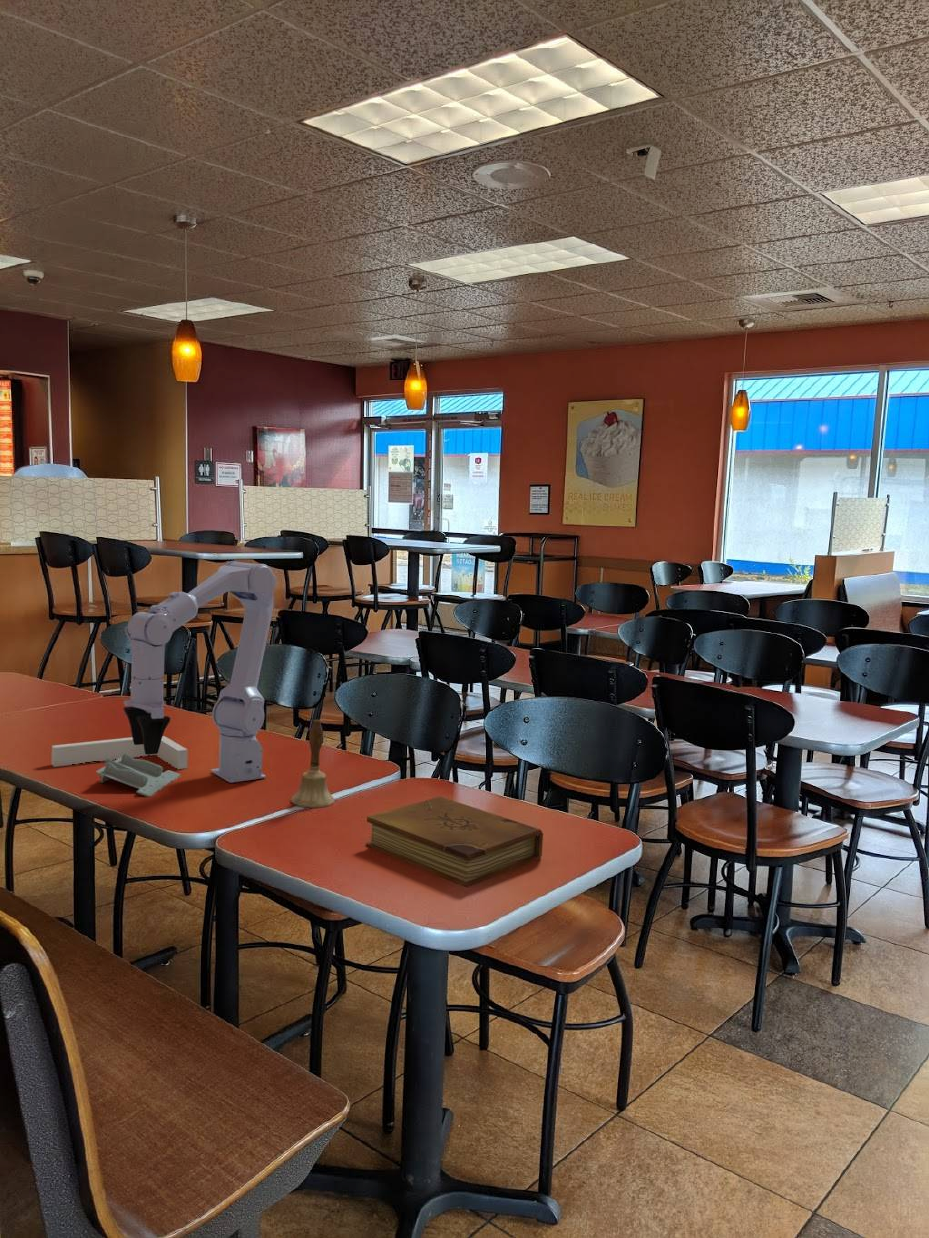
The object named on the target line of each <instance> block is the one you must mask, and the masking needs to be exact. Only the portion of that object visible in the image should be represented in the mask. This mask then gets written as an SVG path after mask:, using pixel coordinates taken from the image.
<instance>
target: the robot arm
mask: <svg viewBox="0 0 929 1238" xmlns="http://www.w3.org/2000/svg"><path fill="white" fill-rule="evenodd" d="M276 584H277V577H276V575H275V574H274V572H273V570H272V568H271V567H270V566H269V565H267V564H265V563H258V564H257V563H251V562H250V563H249V562H240V561H237V560H231V561H229V562H227V563H226V564H224V565H220V566H219V567H218V569H217V571H216V572H215V573H214V574H212V575H211V576H209V577H208V578H207V579H206V580H204V581H202V582H201V583H199V585H197V586H196V587H194V588H193V589H192V590H190V591H188V593H187V592H184V591H172V592H170V593H169V594H168V596H169V597H167V598H166V599H164V600H163V601H161V602H159V603H158V604H152V605H151V606H150V607H149V608H150V609H149V610H147V612H145V611H139V612H136V613H135V614H133V615H132V616H131V617H130V619H129V620H128V624H127V626H124V629H125V630H124V631H125V634H126V637H127V638H128V640H129V642H130V643H129V644H130V649H131V674H130V675H131V677H130V679H131V680H130V699H129V700H127V699H126V700H124V701H123V705H124V706H125V707H123V712H125V715H126V717H127V720H128V722H129V728H130V732H131V737H132V738H133V742H134V745H141V744H144V751H145V754H146V755H148V754H157V753H158V750H159V747H160V743H161V739H162V736H164V732H165V731H166V728H167V727H168V725H169V724H170V723H171V717H170V716H169V715H168V716H167V715H166V716H165V714H164V713H165V711H164V710H165V707H164V706H165V699H164V683H165V682H164V681H165V679H164V678H165V677H164V676H165V645H166V644H167V643H169V641H170V640H171V637H172V635H173V633H174V632H175V631H176V630H178V629H179V628H181V627H182V626H184V625H185V624H187V623H188V622H190V621H191V620H193V619H195V618H196V616H197V615H198V610H199V608H200V607H203V606H204V605H206V604H208V603H209V602H211V601H213V600H215V599H217V598H219V597H221V596H222V595H223V594H226V593H227V592H229V593H230V594H231V595H232V596H233V597H235V599H237V600H238V601H239V602H240V604H241V605H242V606H243V608H244V609H245V611H244V616H243V617H244V618H243V621H242V626H241V631H240V635H239V640H238V645H237V649H236V653H235V654H236V655H235V658H234V659H235V660H234V663H233V669H232V674H231V678H230V683H229V684H228V685H226V686H225V687H224V688H223V689H221V690H220V692H219V695H218V698H217V701H216V702H215V704H214V705H213V708H212V712H211V716H212V720H213V721H212V722H213V723H214V725H216V726H217V731H218V732H219V749H218V750H219V752H218V755H219V757H218V768H212V769H211V770H210V772H211V773H213V774H214V775H216V776H217V777H220V778H221V779H222V780H225V781H226V782H228V783H230V784H233V783H238V782H244V781H245V782H246V781H251V780H259V779H260V780H261V779H265V778H266V775H265V774H264V773H262V772H263V771H262V769H263V746H262V745H261V743H260V742H259V741H258V739H257V737H256V736H257V735H258V734H259V730H260V729H261V728H262V727H263V725H264V720H265V710H264V704H265V698H264V697H263V695H262V694H261V693H260V692H259V690H258V685H259V679H260V674H261V671H262V664H263V660H264V656H265V655H264V654H265V652H266V651H265V650H266V645H267V640H268V636H269V632H270V626H271V621H272V617H273V612H274V608H275V607H274V606H275V605H274V604H275V602H274V595H275V594H274V592H275V588H276ZM241 700H242V701H241Z"/></svg>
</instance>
